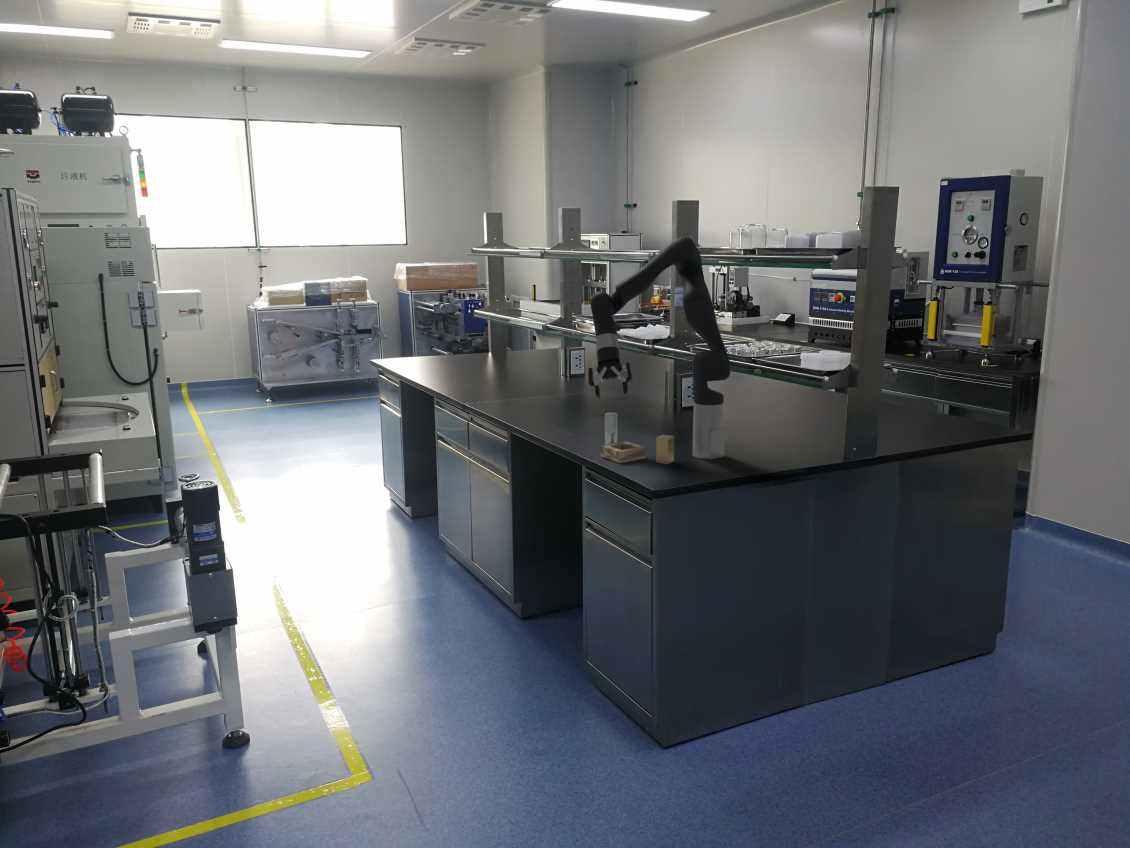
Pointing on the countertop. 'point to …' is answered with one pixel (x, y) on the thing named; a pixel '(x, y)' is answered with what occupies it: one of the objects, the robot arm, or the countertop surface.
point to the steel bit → (610, 428)
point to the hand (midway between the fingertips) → (611, 395)
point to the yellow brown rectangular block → (665, 449)
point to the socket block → (623, 452)
